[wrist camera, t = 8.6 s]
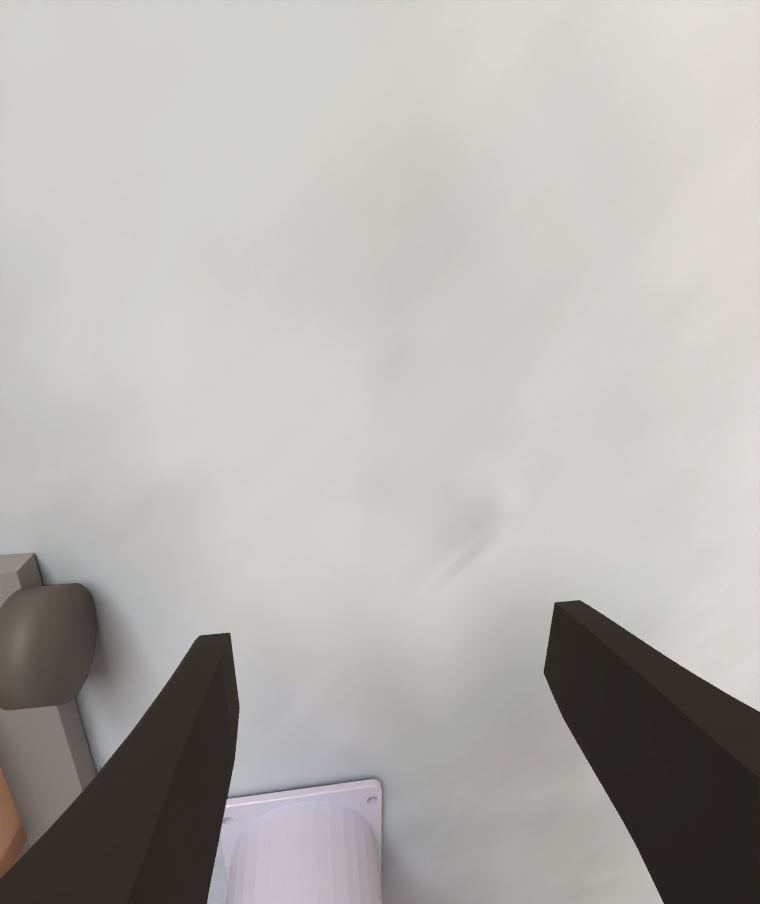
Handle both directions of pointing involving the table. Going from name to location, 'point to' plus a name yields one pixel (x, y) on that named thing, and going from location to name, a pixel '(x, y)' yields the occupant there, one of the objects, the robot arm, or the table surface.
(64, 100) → the table surface
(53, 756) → the chassis
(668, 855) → the robot arm
